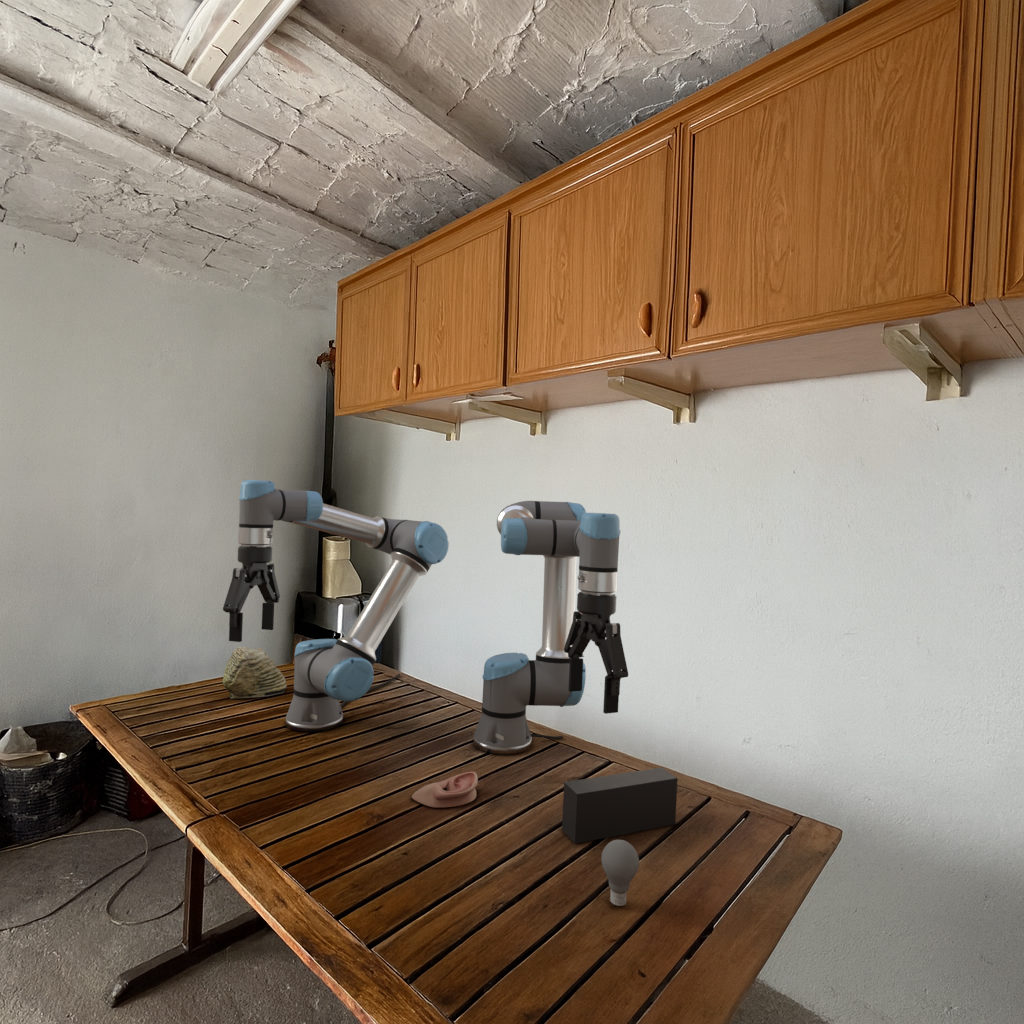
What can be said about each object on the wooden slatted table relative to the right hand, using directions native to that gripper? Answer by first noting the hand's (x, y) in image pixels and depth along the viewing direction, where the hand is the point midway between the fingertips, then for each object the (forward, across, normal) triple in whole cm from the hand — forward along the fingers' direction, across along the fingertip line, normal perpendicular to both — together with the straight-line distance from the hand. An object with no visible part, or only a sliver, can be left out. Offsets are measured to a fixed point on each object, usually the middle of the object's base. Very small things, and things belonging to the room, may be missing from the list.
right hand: (591, 701), depth 123 cm
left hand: (-4, -55, -61) cm, 82 cm away
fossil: (+26, -106, -58) cm, 124 cm away
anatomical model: (+26, -23, -22) cm, 41 cm away
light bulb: (+26, +21, -6) cm, 34 cm away
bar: (+26, 0, +8) cm, 27 cm away
